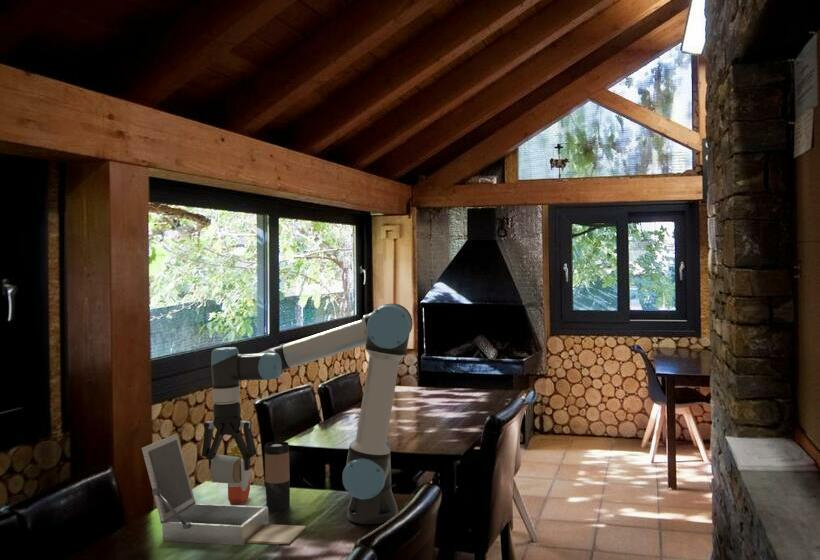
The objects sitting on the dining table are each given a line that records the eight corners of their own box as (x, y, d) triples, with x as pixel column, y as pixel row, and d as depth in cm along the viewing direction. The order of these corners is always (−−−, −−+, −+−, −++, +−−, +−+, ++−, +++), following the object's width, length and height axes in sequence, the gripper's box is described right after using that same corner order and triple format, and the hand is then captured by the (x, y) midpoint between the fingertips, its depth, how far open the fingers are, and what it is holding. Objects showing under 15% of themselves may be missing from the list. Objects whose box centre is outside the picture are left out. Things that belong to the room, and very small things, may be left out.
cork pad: (306, 528, 199) (306, 526, 199) (289, 545, 187) (289, 542, 187) (267, 526, 202) (267, 524, 202) (247, 542, 189) (247, 540, 189)
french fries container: (251, 496, 231) (250, 442, 231) (242, 506, 220) (240, 450, 220) (237, 496, 231) (236, 442, 231) (228, 507, 220) (226, 450, 220)
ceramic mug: (235, 486, 192) (234, 458, 192) (209, 485, 195) (208, 458, 195) (254, 476, 202) (253, 450, 203) (230, 475, 205) (229, 449, 205)
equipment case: (268, 523, 204) (266, 435, 204) (240, 547, 186) (238, 450, 186) (176, 519, 210) (174, 433, 210) (140, 541, 192) (138, 448, 192)
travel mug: (295, 505, 220) (293, 442, 220) (278, 512, 213) (277, 448, 213) (277, 502, 224) (276, 440, 224) (260, 509, 217) (259, 445, 218)
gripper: (266, 399, 199) (270, 478, 199) (199, 399, 203) (203, 477, 203) (255, 403, 191) (259, 485, 191) (186, 404, 196) (189, 484, 196)
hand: (230, 481), depth 197 cm, fingers closed on ceramic mug, 8 cm apart
